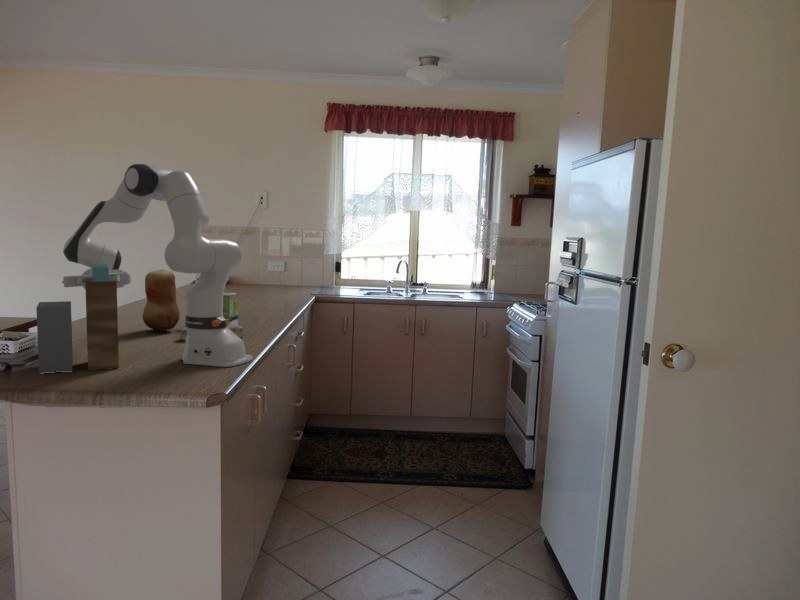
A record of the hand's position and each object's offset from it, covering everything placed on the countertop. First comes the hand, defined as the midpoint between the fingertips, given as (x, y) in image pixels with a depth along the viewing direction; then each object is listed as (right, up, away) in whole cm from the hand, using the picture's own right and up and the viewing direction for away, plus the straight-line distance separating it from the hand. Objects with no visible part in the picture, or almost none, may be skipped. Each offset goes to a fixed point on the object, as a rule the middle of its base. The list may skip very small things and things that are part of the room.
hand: (99, 279), depth 186 cm
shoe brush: (+27, -22, +32) cm, 47 cm away
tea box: (+21, -19, +55) cm, 62 cm away
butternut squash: (+3, -20, +42) cm, 46 cm away
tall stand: (+9, -26, -15) cm, 32 cm away
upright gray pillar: (-1, -27, -21) cm, 34 cm away
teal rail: (+8, 0, -15) cm, 17 cm away
